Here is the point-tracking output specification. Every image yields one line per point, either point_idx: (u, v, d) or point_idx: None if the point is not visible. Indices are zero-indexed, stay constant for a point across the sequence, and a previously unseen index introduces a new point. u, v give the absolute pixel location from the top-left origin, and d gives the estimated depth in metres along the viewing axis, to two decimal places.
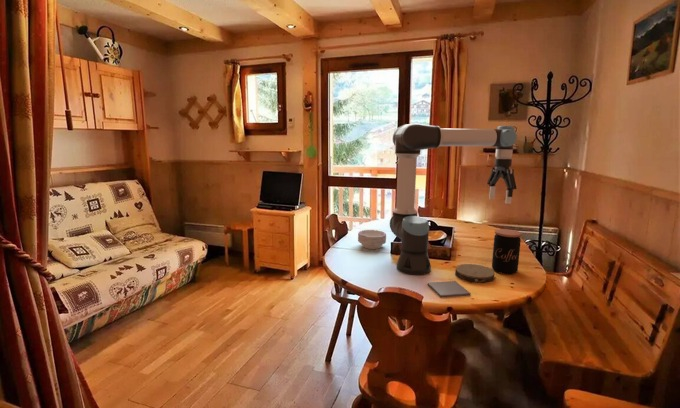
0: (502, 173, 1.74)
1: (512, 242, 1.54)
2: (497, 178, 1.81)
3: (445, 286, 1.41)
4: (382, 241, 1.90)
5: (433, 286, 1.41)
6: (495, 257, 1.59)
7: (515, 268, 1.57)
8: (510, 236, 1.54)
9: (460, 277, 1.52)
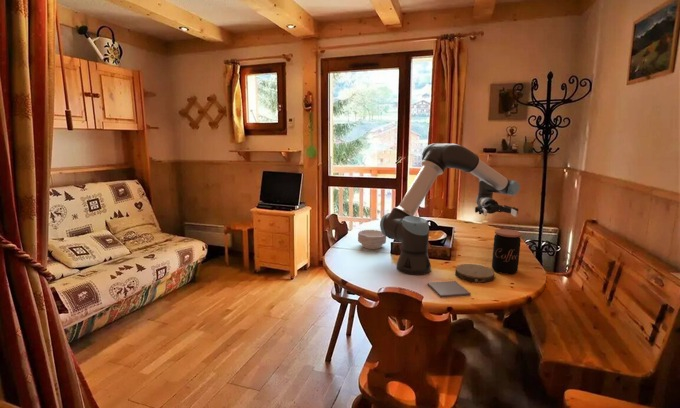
0: None
1: (512, 242, 1.54)
2: (486, 209, 1.81)
3: (445, 286, 1.41)
4: (382, 241, 1.90)
5: (433, 286, 1.41)
6: (495, 257, 1.59)
7: (515, 268, 1.57)
8: (510, 236, 1.54)
9: (460, 277, 1.52)
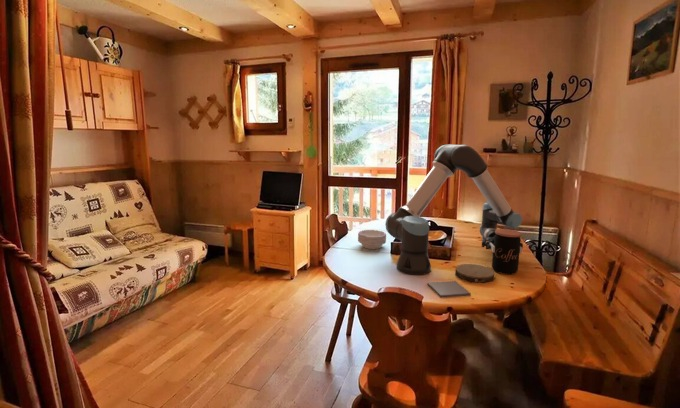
0: None
1: (512, 242, 1.54)
2: (492, 243, 1.70)
3: (445, 286, 1.41)
4: (382, 241, 1.90)
5: (433, 286, 1.41)
6: (495, 257, 1.59)
7: (515, 268, 1.57)
8: (510, 236, 1.54)
9: (460, 277, 1.52)
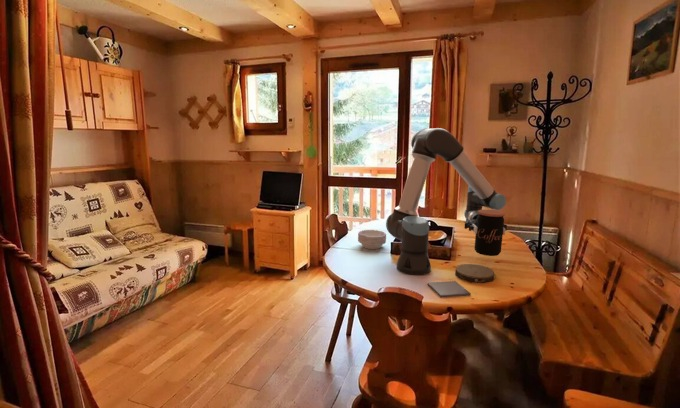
0: None
1: (495, 222, 1.48)
2: (476, 224, 1.64)
3: (445, 286, 1.41)
4: (382, 241, 1.90)
5: (433, 286, 1.41)
6: (477, 238, 1.53)
7: (498, 249, 1.51)
8: (493, 215, 1.47)
9: (460, 277, 1.52)
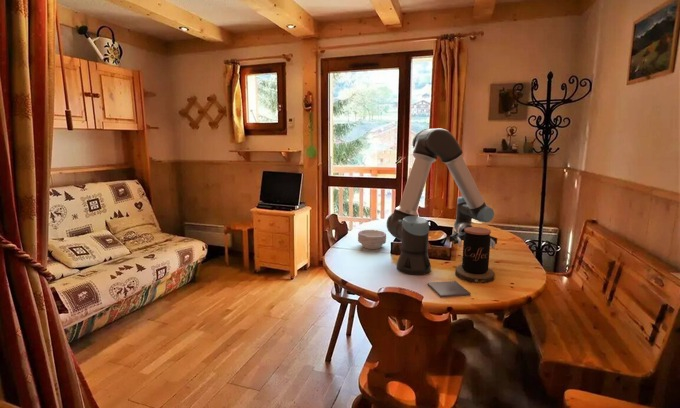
0: None
1: (481, 240, 1.47)
2: (463, 238, 1.63)
3: (445, 286, 1.41)
4: (382, 241, 1.90)
5: (433, 286, 1.41)
6: (464, 256, 1.52)
7: (485, 267, 1.50)
8: (479, 234, 1.47)
9: (460, 277, 1.52)
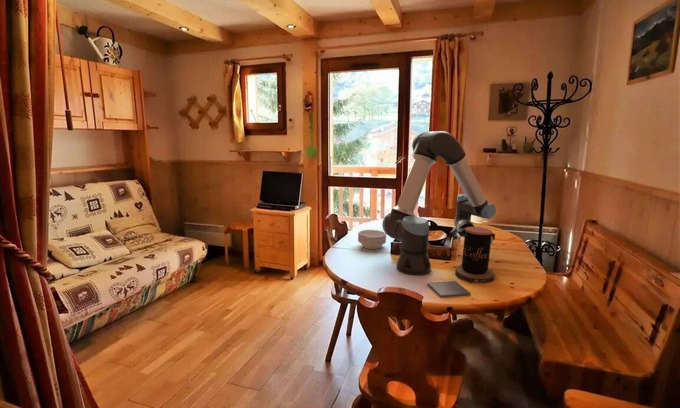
0: None
1: (482, 240, 1.47)
2: (462, 234, 1.69)
3: (445, 286, 1.41)
4: (382, 241, 1.90)
5: (433, 286, 1.41)
6: (464, 255, 1.52)
7: (484, 268, 1.50)
8: (479, 234, 1.47)
9: (460, 277, 1.52)
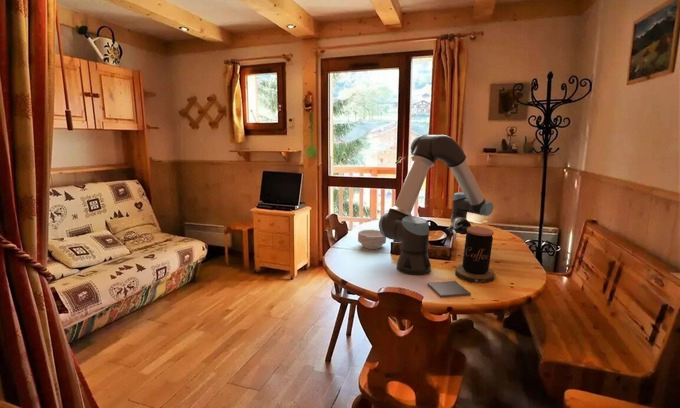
0: (470, 226, 1.77)
1: (483, 241, 1.46)
2: (458, 230, 1.75)
3: (445, 286, 1.41)
4: (382, 241, 1.90)
5: (433, 286, 1.41)
6: (465, 256, 1.52)
7: (485, 268, 1.49)
8: (481, 235, 1.46)
9: (460, 277, 1.52)
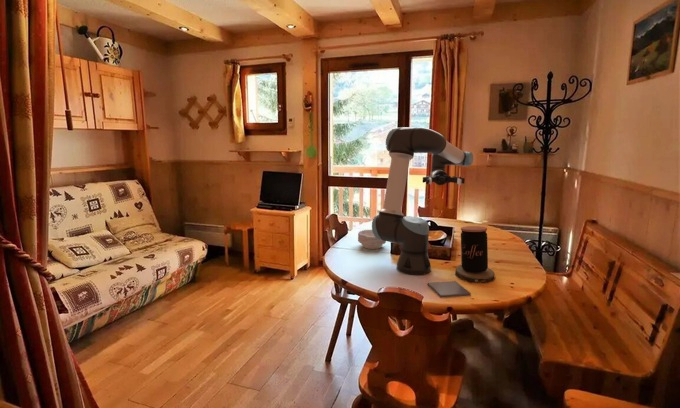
0: (447, 175, 1.84)
1: (474, 237, 1.48)
2: (434, 179, 1.82)
3: (445, 286, 1.41)
4: (382, 241, 1.90)
5: (433, 286, 1.41)
6: (461, 254, 1.54)
7: (482, 265, 1.49)
8: (471, 231, 1.49)
9: (460, 277, 1.52)
